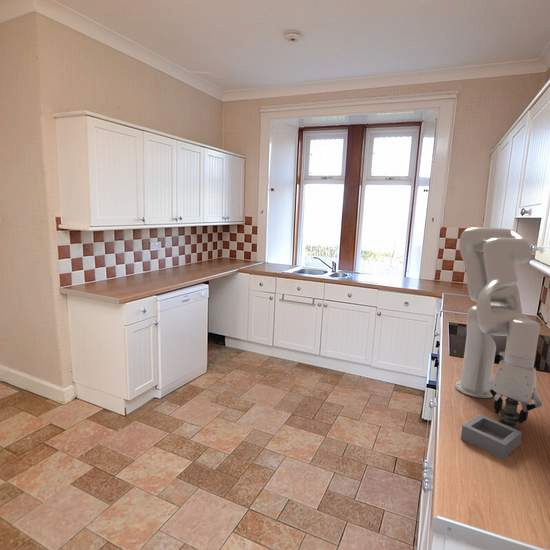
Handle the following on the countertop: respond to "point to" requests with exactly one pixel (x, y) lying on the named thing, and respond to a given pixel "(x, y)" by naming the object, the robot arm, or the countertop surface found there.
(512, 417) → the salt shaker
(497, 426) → the holder
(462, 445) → the countertop surface
